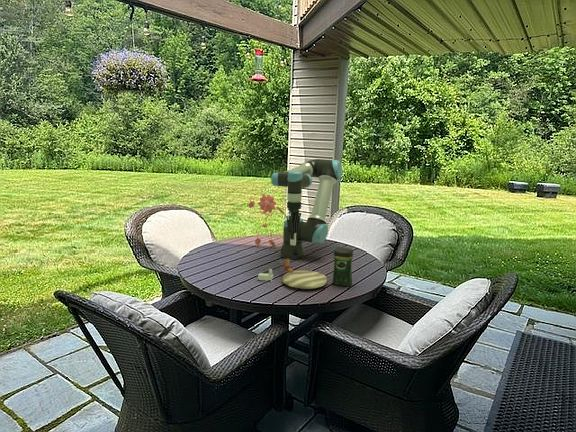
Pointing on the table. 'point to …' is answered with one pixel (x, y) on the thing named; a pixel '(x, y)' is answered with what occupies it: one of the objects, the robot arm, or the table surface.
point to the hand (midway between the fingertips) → (293, 244)
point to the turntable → (302, 278)
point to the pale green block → (266, 276)
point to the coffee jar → (342, 266)
